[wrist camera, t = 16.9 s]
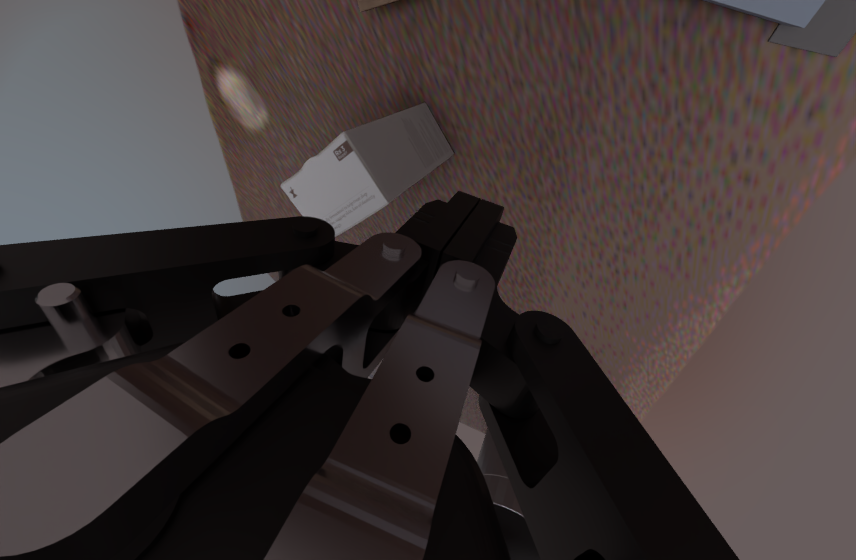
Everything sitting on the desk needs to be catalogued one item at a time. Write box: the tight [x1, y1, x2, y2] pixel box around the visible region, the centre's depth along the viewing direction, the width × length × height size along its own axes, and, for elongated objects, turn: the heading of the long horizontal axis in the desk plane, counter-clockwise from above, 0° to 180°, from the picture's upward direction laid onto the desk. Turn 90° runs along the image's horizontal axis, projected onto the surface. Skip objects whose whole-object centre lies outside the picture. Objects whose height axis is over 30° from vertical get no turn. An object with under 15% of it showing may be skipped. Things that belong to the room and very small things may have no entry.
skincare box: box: [281, 102, 454, 237], centre depth 33 cm, size 8×6×15 cm
